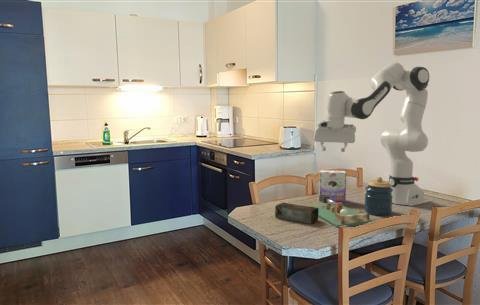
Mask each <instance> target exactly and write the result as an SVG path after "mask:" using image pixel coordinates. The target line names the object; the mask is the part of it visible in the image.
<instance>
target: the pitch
mask: <svg viewBox="0 0 480 305" xmlns="http://www.w3.org/2000/svg"><path fill="white" fill-rule="evenodd" d="M309 207H315V208H319V213H318V219H321V220H323V221H325V222H326V223H328V224H329V225H331V226H333V227H335V228H340V227H339V226H342V225H348V226H347V227H353V226H361V224H363V225H366V224H365V223H368V222H372V221H375V222H376V220H374V219H373V218H371V217H369V221H367V222H358V223H349V224H341V223H339V222H337V221H335V206H334V205H331V204H329V203H324V205H323V204H322V205H314V206H313V205H312V206H311V205H310V206H309ZM343 209H346V210H347V211H348V215H355V214H359V212H357V211H355V210H353V209H351V208H349V207H346V206H344V205H343ZM339 214H340V213H339Z"/></svg>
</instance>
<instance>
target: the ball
mask: <svg viewBox="0 0 480 305" xmlns="http://www.w3.org/2000/svg"><path fill="white" fill-rule="evenodd" d="M340 214H341V215H343V216H345V215H348V211H347V210H346V209H342V210H341V211H340Z"/></svg>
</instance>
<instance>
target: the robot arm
mask: <svg viewBox="0 0 480 305" xmlns="http://www.w3.org/2000/svg"><path fill="white" fill-rule="evenodd" d="M429 82H430V73H429V71H428V69H427V68H426V67H424V66H415V67H410V68H406V69H405V68H404V66H403V65H402V64H400V63H398V62H391V63H389V64H388V65H386V66H383V67H382V68H381V69H379V71H377V72H376V73H375V74H374V75H373V76H372V77H371V79H370V87H371V89H372V91H371V92H370V93H369V94H368V95H367V96H366V97H363V98H353V97H350V96H349V95H348V94H347V93H346V92H345V91H343V90H337V91H332V92H330V93H329V94H328V97H327V104H326V111H327V113H326V114H327V115H326V120H321V121H318V122H317V123H316V126H317V127H316V128H314V134H313V141H314V142H317V143H319V142H320V145H321V146H320V147H322V152H327V151H326V149H327V147H325V146H324V144H325V143H338V144H340V143H341V144H343V147H340V149H341V150H340V151H341V152H343V153H344V152H345V151H346V148H347V146H348V144H354V143H355V142H356V132H357V127H356V126H355V125H354V124H349V123H347V124H346V123H345V118H350V119H351V118H352V119H359V120H366V119H368V118H370V116H371V115H372V114H373V112H374V111H375V109H376V107H377V106H379V104H380V103H381V102H382V101H383V100H384V99H385V98H386V97H387V96H388V95H389V93H390V92H391V89H393V90H396V91H405V92H406V97H405V99H404V102H403V104H402V108H401V111H400V114H399V119H400V121H401V122H402V123H403V124H404V129H398V128H397V129H396V128H392V129H385V130H384V131H383V132H382V133H381V135H380V143H381V145H382V147H383V148H385V150H386V152H387V155H388V156H389V160H390V168H389V169H390V170H389V171H390V173H389V176H388V182H389V183H390V184H391V185H392V186H391V188H392V189H393V191H392V196H393V198H392V204H395V205H403V206H404V205H405V206H410V207H411V206H417V205H423V204H428V203H430V202H429V201H430V200H429V199H427V198H425V191H424V190H423V188H421V187H420V186H419V185H417V183H415V182H418V181H419V177H417V176H413V172H414V171H413V168H414V163H413V161H412V159H410V158H409V157H408V155H407V154H406V152H412V153H417V152H423V151H425V149H427V147H428V144H429V138H428V136H427V134H426V133H425V132H424V131H423V127H422V121H423V117H424V113H425V110H426V107H427V103H428V93H429V92H428V90H427V87H428V85H429Z"/></svg>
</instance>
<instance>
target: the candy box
mask: <svg viewBox="0 0 480 305" xmlns="http://www.w3.org/2000/svg"><path fill="white" fill-rule="evenodd" d="M346 186H347V172H346V171H345V170H321V169H320V170H319V195H327V196H329V197H330V200H333V201H335V202H342V203H346V191H347V187H346ZM319 195H318V196H319Z"/></svg>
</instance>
